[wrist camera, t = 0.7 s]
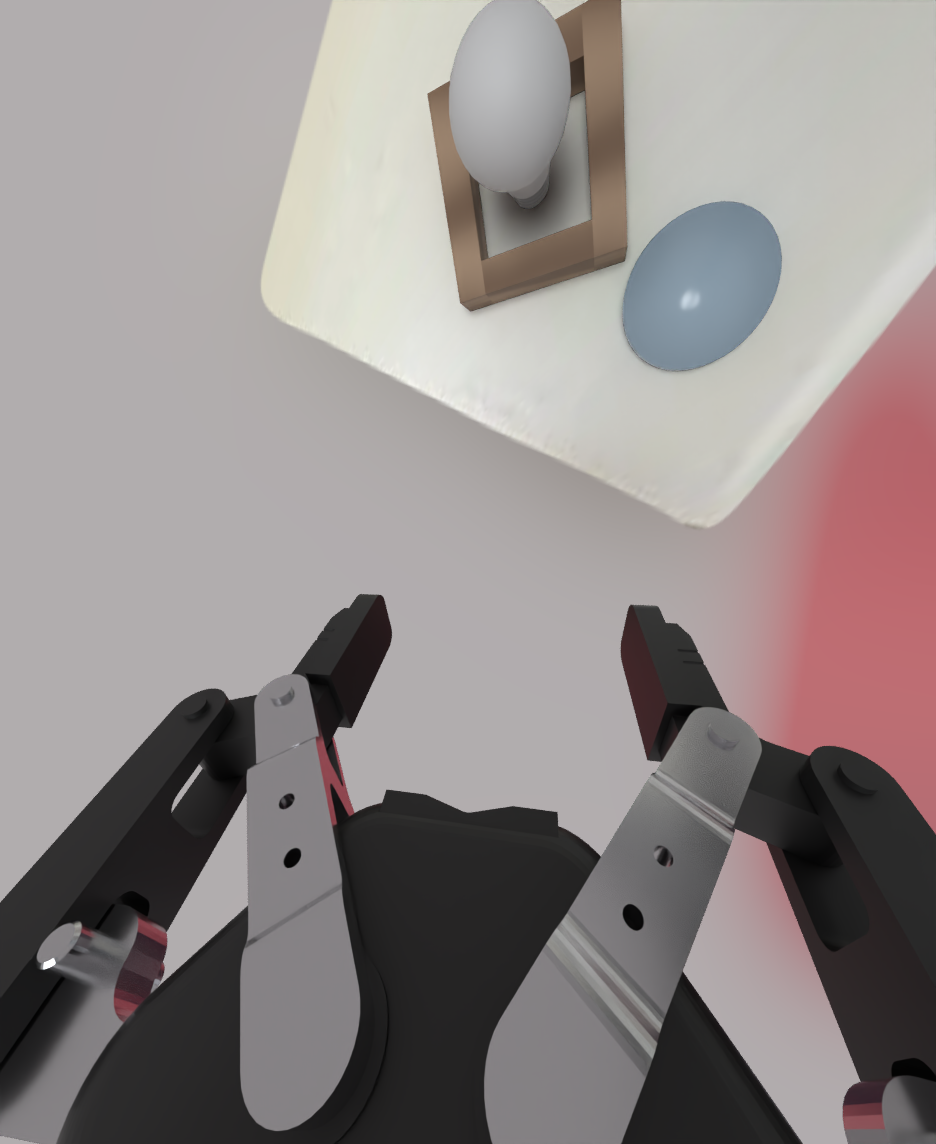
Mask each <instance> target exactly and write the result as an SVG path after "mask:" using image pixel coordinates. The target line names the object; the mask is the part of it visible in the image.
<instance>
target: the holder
mask: <svg viewBox="0 0 936 1144" xmlns="http://www.w3.org/2000/svg"><path fill="white" fill-rule="evenodd" d="M555 21H556V23H557V24H558V27H559V29H560V32H561V34H562V36H563V39H564V42H565V44H566V48H567V53H568V57H569V62H570V77H571V95H570V97H572V96H574V95H576V94H578V93H580V92H582V91H584V90H585V98H586V117H587V137H588V156H589V176H590V195H591V215H592V220H589V221H587V222H584V223H581V224H579V225H576V226H573V227H571V228H568V229H565V230H563V231H560V232H557V233H555V234H552V235H549V236H547V237H544V238H541V239H539V240H536V241H533V242H531V243H528V244H525V245H523V246H520V247H517V248H515V249H512V250H509V251H507V252H504V253H501V254H499V255H496V256H493V257H491V258H488V253H487V245H486V238H485V230H484V222H483V215H482V207H481V199H480V192H479V184H478V181H476V180H475V179H474V178H473V177H472V176H471V175H470V173H469V172H468V171H467V169H466V168H465V166H464V164H463V162H462V160H461V158H460V156H459V154H458V152H457V150H456V146H455V143H454V139H453V135H452V130H451V124H450V116H449V87H450V81H449V82H447V83H445V84H444V85H442V86H440V87H438V88H437V89H435V90H433V91H432V92H430V93H428V100H429V107H430V113H431V119H432V126H433V132H434V139H435V145H436V151H437V158H438V164H439V170H440V177H441V183H442V190H443V196H444V202H445V209H446V215H447V222H448V228H449V234H450V241H451V247H452V253H453V260H454V266H455V273H456V279H457V285H458V292H459V298H460V303H461V304H462V305H463V306H465V307H466V308H467V309H468V310H469V311H473V310H476V309H479V308H482V307H485V306H488V305H492V304H495V303H498V302H501V301H504V300H507V299H510V298H513V297H516V296H519V295H522V294H525V293H528V292H531V291H534V290H537V289H540V288H544V287H547V286H550V285H553V284H556V283H559V282H562V281H565V280H568V279H571V278H574V277H577V276H580V275H583V274H586V273H589V272H592V271H595V270H599V269H602V268H605V267H608V266H611V265H614V264H617V263H620V262H623V261H625V256H626V250H627V217H626V178H625V139H624V101H623V62H622V23H621V0H588V1H587V2H585V3H583V4H582V5H580V6H578V7H576V8H575V9H573V10H571V11H569V12H568V13H566V14H564V15H563V16H561V17H559V18H557V19H556V20H555Z"/></svg>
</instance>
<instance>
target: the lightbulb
mask: <svg viewBox="0 0 936 1144" xmlns="http://www.w3.org/2000/svg"><path fill="white" fill-rule="evenodd" d="M570 95H571V77H570V62H569V57H568V53H567V48H566V44H565V42H564V39H563V36H562V34H561V32H560V29H559V27H558V24H557V23H556V21H555V20H554V18H553V17H552V15H551V14H550V13H549V11H548V10H547V9H546V8H545V6H543V5H542V4H541V3H540V2H538V1H537V0H493V1H492V2H490V3H488V4H487V5H486V6H485V7H484V8H483V9H482V10H481V11H480V12H479V13H478V14H477V15H476V17H475V18H474V19H473V21H472V22H471V23H470V25H469V27H468V28H467V30H466V32H465V34H464V36H463V38H462V40H461V43H460V45H459V48H458V50H457V53H456V57H455V61H454V64H453V68H452V72H451V79H450V87H449V116H450V124H451V130H452V135H453V139H454V143H455V146H456V150H457V152H458V154H459V156H460V158H461V160H462V162H463V164H464V166H465V168H466V169H467V171H468V172H469V173H470V175H471V176H472V177H473V178H474V179H475V180H476V181H478V182H479V183H480V184H481V185H483V186H484V187H485V188H488V189H490V190H492V191H495V192H503V193H504V192H508V193H509V194H510V195H511V196H513V197H514V199H515V200H516V202H517V203H518V205H519V206H521V207H523V208H526V209H529V208H533V207H535V206H537V205H538V204H539V203H540V202H541V201H542V200H543V199H544V197H545V195H546V193H547V191H548V187H549V181H550V178H549V177H550V174H549V169H550V163H551V159H552V157H553V155H554V154H555V152H556V150H557V148H558V146H559V143H560V140H561V138H562V135H563V133H564V128H565V124H566V120H567V116H568V111H569V105H570Z"/></svg>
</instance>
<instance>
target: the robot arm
mask: <svg viewBox="0 0 936 1144" xmlns="http://www.w3.org/2000/svg"><path fill="white" fill-rule="evenodd" d="M391 638H392V629H391V625H390V621H389V617H388V613H387V609H386V605H385V601H384V598H383V596H381V595H368V594H360V595H358V596H357V597H356V599H355V600H354V602H353V603H352V605H351V606H350V608H344V609H343V610H341V611H340V612H338V613H337V614H336V615H335V616H333V617H332V618H331V619H330V621H329V622H328V624H327V625H326V626H325V628H324V631H322V632H321V633H320V635H319V636H318V638H317V640H316V641H315V642H314V643H313V645H312V646H311V647H310V649H309V650H308V652H307V653H306V654H305V656H304V657H303V659H302V660H301V662H300V663H299V664H298V666H297V667H296V668H295V670H294V671H293V673H292V674H290V675H285V676H282V677H279V678H277V679H275V680H273V681H271V682H270V683H269V684H267V685H266V686H265V687H264V688H263V689H262V690H261V691H260V692H259V694H258V695H254V696H249V697H244V698H239V699H234V700H229V699H228V698H227V696H226V695H225V693H224V692H223V691H222V690H219V689H206V690H203V691H200V692H197V693H195V694H193V695H191V696H189V697H188V698H186V699H184V700H183V701H182V702H180V703H179V704H178V705H177V706H176V707H175V708H174V709H173V710H172V711H171V712H170V713H169V714H168V716H167V717H166V718H165V719H164V720H163V721H162V722H161V724H160V725H159V726H158V727H157V728H156V729H155V730H154V731H153V732H152V734H151V735H150V736H149V737H148V738H147V739H146V740H145V741H144V742H143V744H142V745H141V746H140V747H139V748H138V749H137V750H136V751H135V753H134V754H133V755H132V756H131V757H130V758H129V759H128V760H127V761H126V763H125V764H124V765H123V766H122V767H121V768H120V769H119V771H118V772H117V773H116V774H115V775H114V776H113V777H112V778H111V780H110V781H109V782H108V783H107V784H106V785H105V786H104V787H103V788H102V790H100V792H99V793H98V794H97V795H96V796H95V797H94V798H93V800H92V801H91V802H90V803H89V804H88V805H87V806H86V807H85V809H84V810H83V811H82V812H81V813H80V814H79V815H78V816H77V817H76V819H75V820H74V821H73V822H72V823H71V824H70V825H69V826H68V827H67V829H66V830H65V831H64V832H63V833H62V834H61V835H60V836H59V837H58V839H57V840H56V841H55V842H54V843H53V844H52V845H51V847H50V848H49V849H48V850H47V851H46V852H45V853H44V854H43V855H42V857H41V858H40V859H39V860H38V861H37V862H36V863H35V864H34V865H33V867H32V868H31V869H30V870H29V871H28V872H27V873H26V874H25V876H24V877H23V878H22V879H21V880H20V881H19V882H18V883H17V884H16V886H15V887H14V888H13V889H12V890H11V891H10V892H9V893H8V894H7V896H6V897H5V898H4V899H3V900H2V901H1V903H0V1136H5V1137H10V1138H15V1139H19V1140H24V1141H29V1142H34V1143H39V1144H803V1143H802V1142H801V1140H800V1139H799V1138H798V1136H797V1135H796V1133H795V1132H794V1130H793V1129H792V1127H791V1126H790V1125H789V1123H788V1122H787V1120H786V1119H785V1117H784V1116H783V1114H782V1113H781V1112H780V1110H779V1109H778V1107H777V1106H776V1105H775V1103H774V1102H773V1100H772V1099H771V1097H770V1096H769V1094H768V1093H767V1092H766V1090H765V1089H764V1088H763V1086H762V1084H761V1083H760V1082H759V1080H758V1079H757V1077H756V1076H755V1074H754V1073H753V1072H752V1070H751V1069H750V1067H749V1066H748V1064H747V1063H746V1061H745V1060H744V1059H743V1057H742V1056H741V1055H740V1053H739V1051H738V1050H737V1049H736V1047H735V1046H734V1044H733V1043H732V1041H731V1040H730V1039H729V1037H728V1036H727V1034H726V1033H725V1031H724V1030H723V1028H722V1027H721V1026H720V1025H719V1023H718V1021H717V1020H716V1018H715V1017H714V1016H713V1014H712V1013H711V1011H710V1010H709V1008H708V1007H707V1006H706V1004H705V1003H704V1002H703V1000H702V998H701V997H700V996H699V994H698V993H697V991H696V990H695V989H694V987H693V986H692V984H691V983H690V981H689V980H688V979H687V977H686V975H685V974H684V973H683V968H684V966H685V963H686V960H687V958H688V955H689V953H690V950H691V947H692V945H693V942H694V940H695V937H696V934H697V931H698V929H699V927H700V924H701V921H702V919H703V916H704V913H705V911H706V908H707V905H708V903H709V900H710V898H711V895H712V892H713V890H714V887H715V885H716V882H717V879H718V877H719V874H720V871H721V869H722V866H723V863H724V861H725V858H726V856H727V853H728V850H729V848H730V845H731V842H732V839H733V836H734V832H735V829H737V830H740V831H742V832H744V833H746V834H749V835H751V836H753V837H756V838H758V839H760V840H762V841H765V842H766V843H767V845H768V848H769V850H770V853H771V855H772V858H773V860H774V863H775V866H776V868H777V870H778V873H779V875H780V878H781V881H782V883H783V886H784V888H785V891H786V893H787V896H788V899H789V901H790V904H791V906H792V909H793V911H794V914H795V916H796V919H797V921H798V924H799V926H800V929H801V931H802V934H803V937H804V939H805V941H806V944H807V946H808V949H809V952H810V954H811V956H812V959H813V962H814V964H815V967H816V970H817V972H818V974H819V977H820V979H821V982H822V985H823V987H824V990H825V992H826V995H827V997H828V1000H829V1002H830V1005H831V1008H832V1010H833V1013H834V1015H835V1018H836V1020H837V1023H838V1025H839V1028H840V1030H841V1033H842V1035H843V1038H844V1040H845V1043H846V1046H847V1048H848V1051H849V1053H850V1056H851V1058H852V1060H853V1063H854V1066H855V1068H856V1071H857V1073H858V1076H859V1079H860V1081H861V1082H858V1083H856V1084H854V1085H852V1086H851V1087H850V1088H849V1089H848V1091H847V1093H846V1095H845V1097H844V1102H843V1123H844V1130H845V1134H846V1137H847V1142H848V1144H936V834H935V833H934V831H933V830H932V829H931V827H930V826H929V825H928V823H927V822H926V821H925V819H924V818H923V816H922V815H921V814H920V812H919V811H918V810H917V808H916V807H915V806H914V804H913V803H912V801H911V800H910V799H909V797H908V796H907V795H906V793H905V792H904V791H903V789H902V788H901V787H900V785H899V784H898V783H897V782H896V780H895V779H894V778H893V777H891V775H890V774H889V773H887V772H886V771H885V770H884V769H883V768H881V767H880V766H878V765H877V764H876V763H874V762H873V761H871V760H869V759H868V758H866V757H864V756H862V755H860V754H858V753H856V752H853V751H851V750H848V749H844V748H840V747H836V746H822V747H819V748H817V749H815V750H814V751H813V752H812V754H811V755H810V756H808V755H804V754H802V753H798V752H795V751H793V750H790V749H787V748H784V747H781V746H778V745H775V744H772V743H769V742H767V741H765V740H762V739H760V738H758V736H757V734H756V733H755V732H754V730H753V729H752V728H751V727H750V726H749V725H748V724H747V723H746V722H744V721H743V720H742V719H741V718H739V717H737V716H736V715H734V714H732V713H730V712H729V711H728V709H727V707H726V705H725V703H724V701H723V700H722V697H721V696H720V694H719V691H718V690H717V688H716V686H715V684H714V682H713V680H712V678H711V676H710V674H709V672H708V670H707V668H706V666H705V665H704V664H703V660H702V658H701V656H700V654H699V653H698V652H697V651H698V650H697V648H696V646H695V644H694V642H693V640H692V638H691V636H690V635H689V634H687V633H686V632H685V631H684V630H683V629H682V628H681V627H680V626H679V625H678V624H673V623H665V620H664V618H663V616H662V614H661V611H660V609H659V607H657V606H646V605H645V606H644V605H630V606H629V609H628V612H627V617H626V622H625V627H624V631H623V636H622V640H621V660H622V664H623V668H624V671H625V676H626V679H627V683H628V687H629V691H630V695H631V699H632V702H633V706H634V710H635V714H636V718H637V722H638V726H639V729H640V733H641V737H642V741H643V745H644V749H645V753H646V756H647V760H650V761H659V762H661V764H660V766H659V767H658V769H657V771H656V772H655V773H652V774H651V776H650V777H649V779H648V780H647V782H646V783H645V785H644V787H643V789H642V790H641V792H640V793H639V795H638V797H637V798H636V800H635V802H634V803H633V805H632V806H631V808H630V810H629V812H628V813H627V815H626V816H625V818H624V820H623V821H622V823H621V825H620V826H619V828H618V830H617V831H616V833H615V835H614V836H613V838H612V840H611V841H610V843H609V845H608V846H607V848H606V850H605V851H604V853H603V854H602V856H600V855H599V854H598V853H597V852H596V851H595V850H594V849H593V848H591V847H590V846H589V845H588V844H587V843H586V842H584V841H583V840H582V839H580V838H579V837H578V836H576V835H574V834H573V833H571V832H569V831H568V830H566V829H564V828H561V827H559V826H558V814H557V812H552V811H545V810H537V809H530V808H521V807H515V806H512V807H506V808H498V809H492V810H485V811H479V812H472V813H466V812H463V811H461V810H458V809H456V808H454V807H452V806H450V805H447V804H445V803H443V802H441V801H438V800H436V799H434V798H432V797H430V796H427V795H423V794H416V793H408V792H401V791H393V790H386V793H385V796H384V799H383V802H382V803H379V804H376V805H372V806H369V807H366V808H364V809H362V810H359V811H358V812H356V813H354V810H353V807H352V804H351V801H350V799H349V795H348V792H347V788H346V784H345V780H344V776H343V771H342V767H341V763H340V760H339V755H338V751H337V747H336V743H335V740H334V737H333V736H334V734H335V732H336V730H337V728H338V727H346V728H352V726H353V724H354V722H355V720H356V717H357V715H358V713H359V711H360V709H361V707H362V705H363V702H364V700H365V698H366V696H367V694H368V692H369V689H370V687H371V685H372V683H373V681H374V679H375V677H376V674H377V672H378V670H379V668H380V665H381V664H382V662H383V659H384V657H385V655H386V653H387V651H388V649H389V646H390V643H391ZM199 764H200V765H201V767H202V768H203V769H202V770H201V772H200V773H199V775H198V776H197V778H196V779H195V780H194V782H193V783H192V785H191V786H190V787H189V789H188V790H187V792H186V793H185V794H184V796H183V797H182V799H181V800H180V802H179V803H178V804H177V806H176V807H175V809H174V810H173V812H172V813H171V809H172V804H173V802H174V799H175V797H176V796H177V794H178V793H179V791H180V790H181V789H182V787H183V786H184V784H185V783H186V782H187V780H188V779H189V777H190V776H191V775H192V773H193V772H194V771H195V769H196V768H197V766H198V765H199ZM246 792H247V852H248V854H247V855H248V906H247V907H246V908H245V909H244V910H243V911H241V912H240V913H239V914H238V915H237V916H236V917H235V918H234V919H232V920H231V921H230V922H229V923H228V924H227V925H226V926H225V927H224V928H223V929H221V930H220V931H219V932H218V933H217V934H216V935H215V936H214V937H213V938H212V939H211V940H209V941H208V942H207V943H206V944H205V945H204V946H203V947H202V948H200V949H199V950H198V951H197V952H196V953H195V954H194V955H193V956H192V957H191V958H189V959H188V960H187V961H186V962H185V963H184V964H183V965H182V966H181V967H180V968H178V969H177V970H176V971H175V972H174V973H173V974H172V975H171V976H170V977H169V978H167V979H166V980H165V981H164V982H163V983H162V984H161V985H160V986H159V987H158V985H159V984H160V982H161V980H162V977H163V975H164V970H165V967H164V963H163V960H164V957H165V954H166V949H167V933H166V932H167V930H168V929H169V927H170V925H171V923H172V922H173V920H174V918H175V916H176V915H177V913H178V911H179V909H180V908H181V906H182V904H183V902H184V901H185V899H186V897H187V895H188V894H189V892H190V890H191V889H192V887H193V885H194V883H195V882H196V880H197V878H198V876H199V875H200V873H201V871H202V869H203V867H204V866H205V864H206V862H207V861H208V859H209V857H210V855H211V854H212V851H213V850H214V848H215V847H216V845H217V843H218V841H219V840H220V838H221V836H222V834H223V833H224V831H225V829H226V827H227V826H228V824H229V822H230V820H231V818H232V817H233V815H234V813H235V811H236V810H237V808H238V806H239V805H240V803H241V801H242V799H243V797H244V796H245V794H246ZM734 828H735V829H734Z"/></svg>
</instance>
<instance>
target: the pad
mask: <svg viewBox="0 0 936 1144" xmlns="http://www.w3.org/2000/svg"><path fill="white" fill-rule="evenodd" d="M781 261H782V256H781V248H780V243H779V240H778V236H777V234H776V232H775V230H774V228H773V226H772V225H771V223H770V222H769V221H768V219H767V218H766V217H765V216H764V215H762V214H761V213H760V212H759V211H757V210H756V209H754V208H752V207H750V206H747V205H745V204H742V203H736V202H715V203H709V204H705V205H702V206H699V207H696V208H694V209H692V210H689V211H687V212H686V213H684V214H682V215H680V216H678V217H677V218H676V219H674V220H673V221H671V222H670V223H669V224H667V225H666V226H665V227H664V228H663V229H662V230H661V231H660V232H658V234H657V235H656V236H655V237H654V238H653V239H652V240H651V241H650V242H649V244H648V245H647V246H646V248H645V249H644V250H643V252H642V253H641V255H640V257H639V258H638V260H637V262H636V264H635V266H634V268H633V270H632V272H631V275H630V277H629V280H628V283H627V287H626V291H625V295H624V301H623V314H622V317H623V326H624V330H625V334H626V337H627V340H628V342H629V344H630V346H631V347H632V349H633V350H634V351H635V353H636V354H637V355H638V356H639V357H640V358H641V359H642V360H644V361H645V362H647V363H648V364H650V365H652V366H654V367H657V368H660V369H664V370H671V371H683V370H690V369H694V368H698V367H701V366H704V365H706V364H709V363H711V362H713V361H715V360H717V359H719V358H721V357H723V356H725V355H726V354H727V353H729V352H730V351H732V350H733V349H735V348H736V347H737V346H738V345H740V344H741V343H742V342H743V341H744V340H745V339H746V338H747V337H748V336H749V335H750V334H751V333H752V332H753V331H754V329H755V328H756V327H757V326H758V324H759V323H760V322H761V320H762V319H763V317H764V316H765V314H766V312H767V311H768V309H769V307H770V305H771V303H772V301H773V298H774V296H775V293H776V291H777V287H778V283H779V280H780V274H781Z"/></svg>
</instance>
